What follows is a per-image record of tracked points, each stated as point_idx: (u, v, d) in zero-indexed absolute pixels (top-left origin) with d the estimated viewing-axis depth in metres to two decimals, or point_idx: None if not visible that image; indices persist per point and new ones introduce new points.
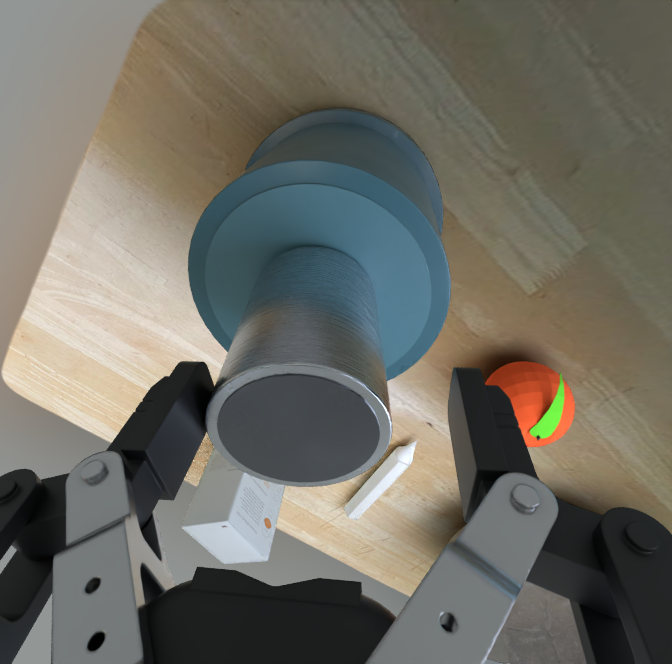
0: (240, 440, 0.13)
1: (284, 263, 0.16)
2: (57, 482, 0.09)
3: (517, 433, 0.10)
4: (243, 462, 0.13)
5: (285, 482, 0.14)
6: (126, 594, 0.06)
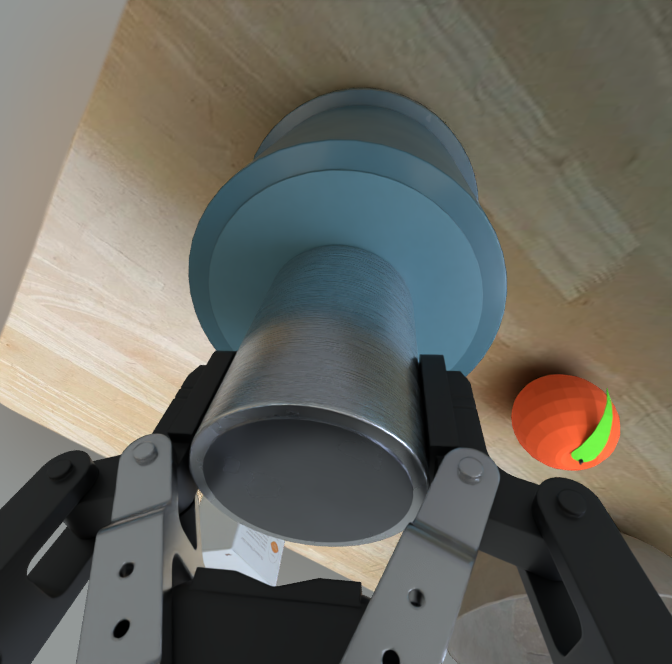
0: (233, 487, 0.10)
1: (304, 264, 0.13)
2: (107, 464, 0.10)
3: (473, 414, 0.10)
4: (237, 512, 0.11)
5: (288, 538, 0.11)
6: (154, 586, 0.06)
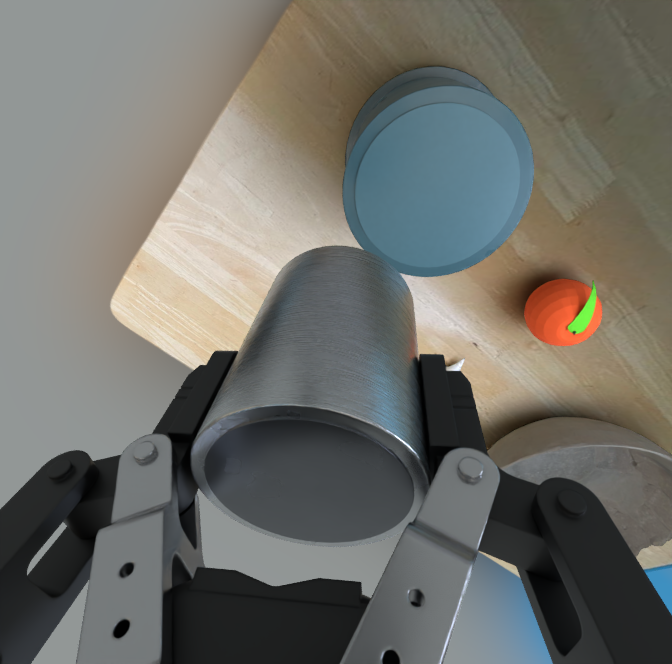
0: (234, 488, 0.10)
1: (305, 264, 0.13)
2: (107, 464, 0.10)
3: (473, 414, 0.10)
4: (238, 513, 0.11)
5: (289, 538, 0.11)
6: (154, 586, 0.06)
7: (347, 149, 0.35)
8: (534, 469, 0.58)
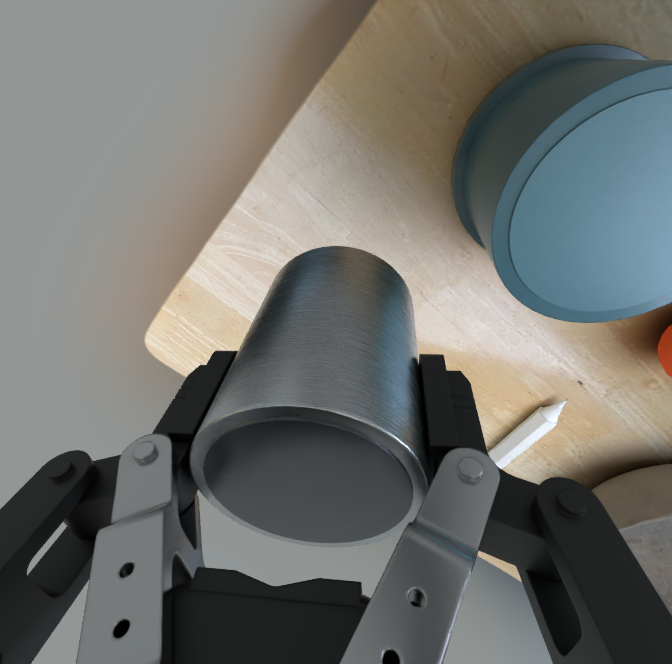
0: (233, 489, 0.10)
1: (304, 265, 0.13)
2: (107, 464, 0.10)
3: (473, 414, 0.10)
4: (237, 513, 0.11)
5: (289, 539, 0.11)
6: (154, 586, 0.06)
7: (460, 154, 0.28)
8: None
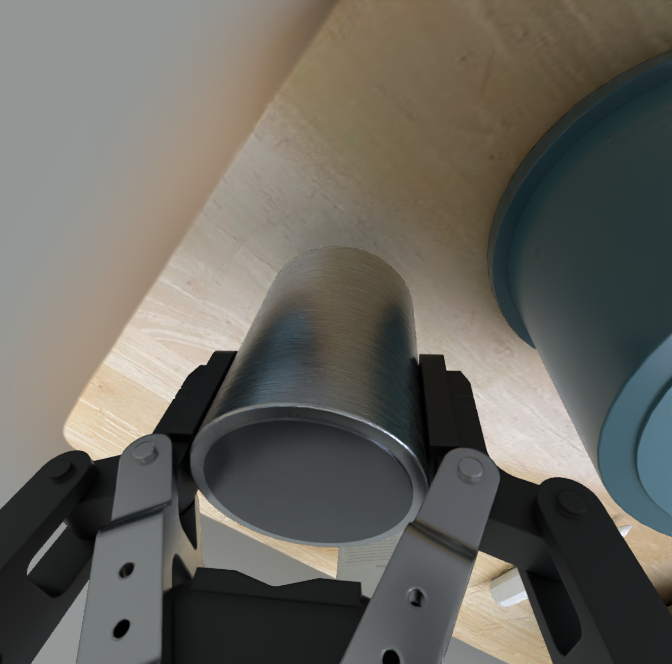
0: (233, 489, 0.10)
1: (304, 265, 0.13)
2: (107, 464, 0.10)
3: (473, 414, 0.10)
4: (237, 513, 0.11)
5: (288, 539, 0.11)
6: (154, 586, 0.06)
7: (506, 217, 0.17)
8: None
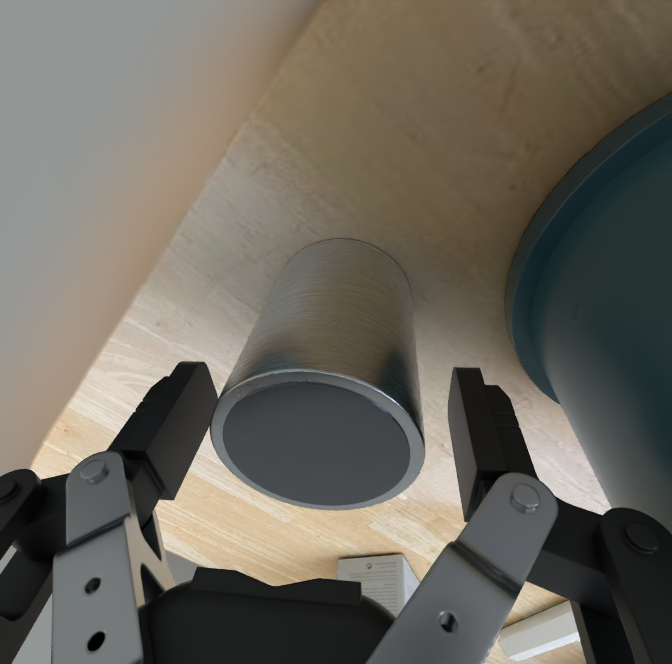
0: (249, 452, 0.11)
1: (311, 256, 0.15)
2: (57, 482, 0.09)
3: (517, 433, 0.10)
4: (251, 477, 0.12)
5: (297, 503, 0.12)
6: (126, 594, 0.06)
7: (531, 259, 0.14)
8: None
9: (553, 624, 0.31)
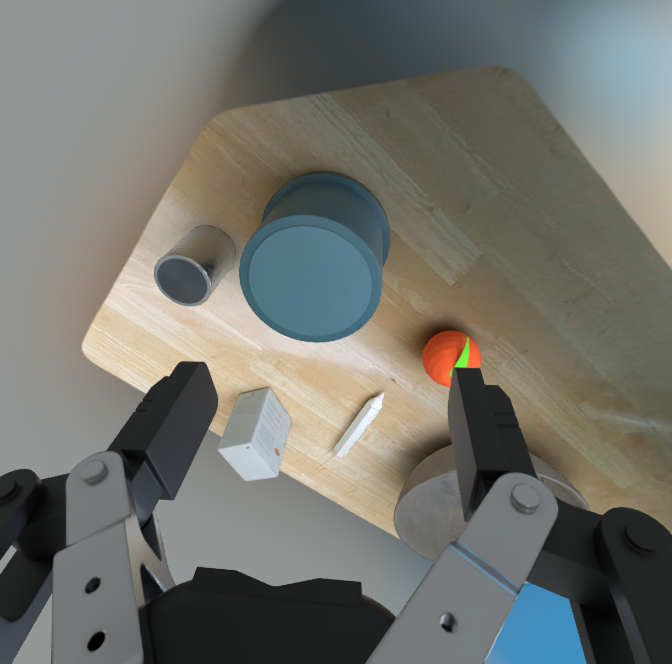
0: (165, 283, 0.40)
1: (192, 231, 0.44)
2: (57, 482, 0.09)
3: (517, 433, 0.10)
4: (167, 293, 0.41)
5: (182, 303, 0.41)
6: (126, 594, 0.06)
7: None
8: None
9: (350, 427, 0.60)
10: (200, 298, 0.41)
